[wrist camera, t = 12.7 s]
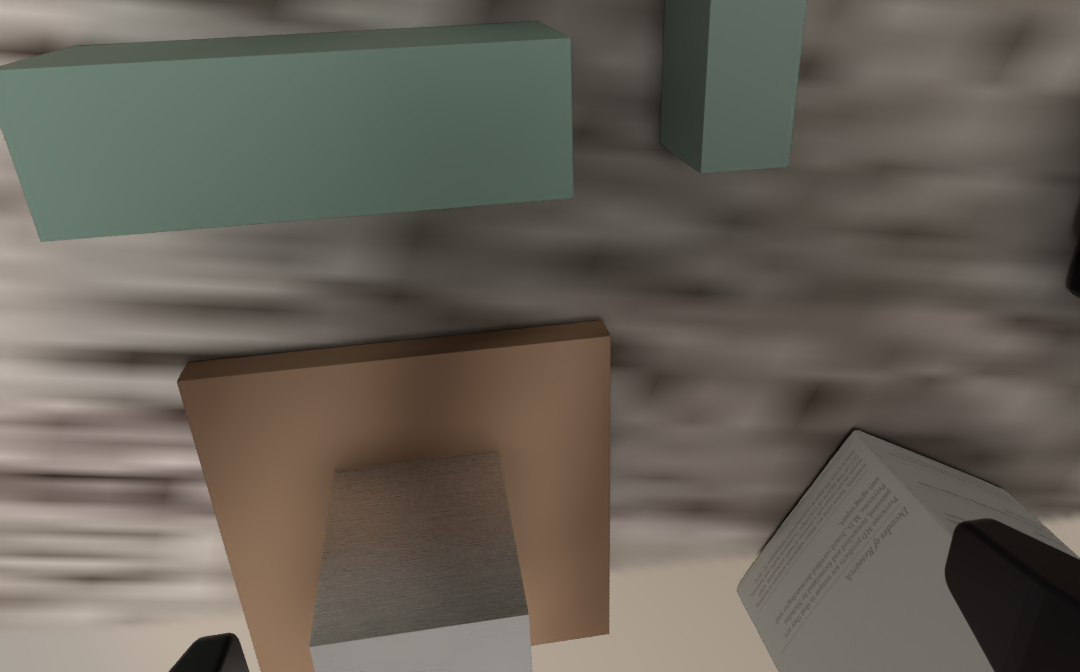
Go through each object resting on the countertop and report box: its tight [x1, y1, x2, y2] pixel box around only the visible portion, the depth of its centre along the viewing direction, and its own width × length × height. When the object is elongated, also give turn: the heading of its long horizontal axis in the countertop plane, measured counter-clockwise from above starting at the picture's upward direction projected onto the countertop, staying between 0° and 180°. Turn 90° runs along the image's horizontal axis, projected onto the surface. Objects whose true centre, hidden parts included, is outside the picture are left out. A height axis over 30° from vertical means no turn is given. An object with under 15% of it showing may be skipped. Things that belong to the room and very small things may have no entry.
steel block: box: [309, 451, 532, 672], centre depth 19 cm, size 4×4×6 cm
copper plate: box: [177, 320, 611, 672], centre depth 23 cm, size 11×11×1 cm
